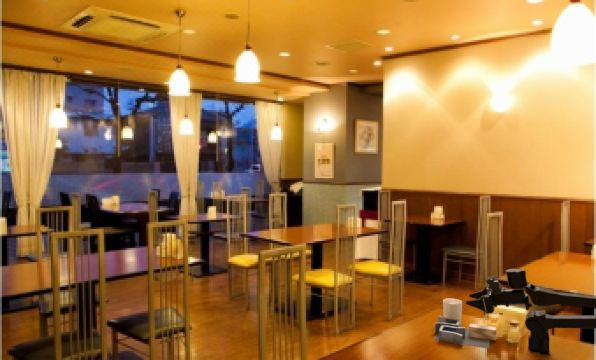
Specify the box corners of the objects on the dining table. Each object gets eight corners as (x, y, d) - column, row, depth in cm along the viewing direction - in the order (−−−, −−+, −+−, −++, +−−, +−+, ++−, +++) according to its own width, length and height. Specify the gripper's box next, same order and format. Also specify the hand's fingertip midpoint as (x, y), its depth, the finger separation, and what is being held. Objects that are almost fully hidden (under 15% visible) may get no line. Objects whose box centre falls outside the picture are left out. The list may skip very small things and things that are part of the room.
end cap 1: (434, 332, 187) (434, 323, 186) (438, 325, 195) (438, 315, 195) (457, 336, 183) (457, 326, 183) (460, 328, 191) (460, 318, 191)
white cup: (458, 328, 192) (458, 305, 192) (440, 324, 197) (440, 301, 197) (464, 323, 199) (464, 300, 198) (446, 319, 203) (446, 297, 203)
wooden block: (496, 337, 181) (496, 327, 181) (495, 340, 178) (496, 330, 178) (469, 333, 186) (469, 323, 186) (468, 336, 183) (468, 326, 183)
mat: (491, 333, 186) (491, 332, 186) (488, 349, 171) (488, 348, 171) (440, 326, 195) (440, 325, 195) (433, 340, 180) (433, 339, 180)
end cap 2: (465, 337, 182) (465, 327, 182) (462, 346, 173) (462, 335, 173) (442, 333, 186) (442, 323, 186) (438, 342, 177) (438, 331, 177)
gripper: (507, 270, 182) (467, 273, 189) (505, 283, 165) (460, 285, 173) (513, 297, 182) (472, 299, 189) (510, 313, 165) (465, 314, 172)
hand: (467, 299), depth 181 cm, fingers open, 9 cm apart
